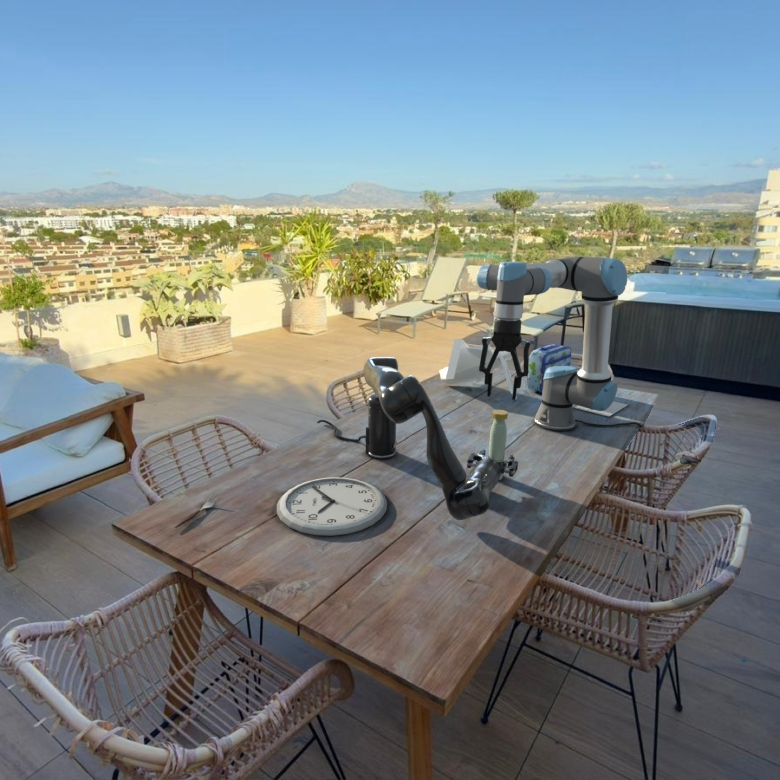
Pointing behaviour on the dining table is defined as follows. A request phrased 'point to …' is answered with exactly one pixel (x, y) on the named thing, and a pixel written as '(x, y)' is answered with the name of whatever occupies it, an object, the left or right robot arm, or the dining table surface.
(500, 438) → the bottle
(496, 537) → the dining table surface
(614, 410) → the invitation card
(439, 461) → the left robot arm
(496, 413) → the cap
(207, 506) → the fork
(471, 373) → the white plastic object
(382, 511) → the wall clock
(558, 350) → the lunch box
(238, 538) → the dining table surface
